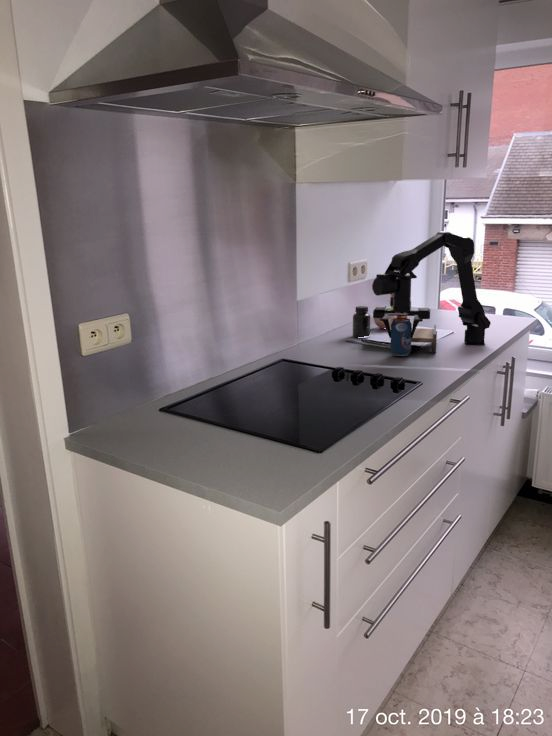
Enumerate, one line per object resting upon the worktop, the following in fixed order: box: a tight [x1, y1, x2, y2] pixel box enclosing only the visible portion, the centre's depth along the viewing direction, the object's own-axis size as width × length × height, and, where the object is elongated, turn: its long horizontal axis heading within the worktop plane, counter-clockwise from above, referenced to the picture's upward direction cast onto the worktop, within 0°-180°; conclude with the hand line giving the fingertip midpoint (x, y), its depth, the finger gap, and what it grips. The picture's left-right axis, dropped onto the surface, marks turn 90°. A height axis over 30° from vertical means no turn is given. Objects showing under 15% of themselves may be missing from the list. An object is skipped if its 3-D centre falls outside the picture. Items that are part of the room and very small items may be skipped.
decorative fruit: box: [373, 305, 397, 329], centre depth 251 cm, size 9×8×10 cm
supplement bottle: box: [352, 305, 371, 339], centre depth 240 cm, size 7×7×12 cm
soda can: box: [389, 317, 413, 357], centre depth 211 cm, size 7×7×12 cm
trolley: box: [411, 324, 438, 354], centre depth 222 cm, size 13×17×7 cm
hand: (401, 338), depth 211 cm, fingers closed on soda can, 7 cm apart
